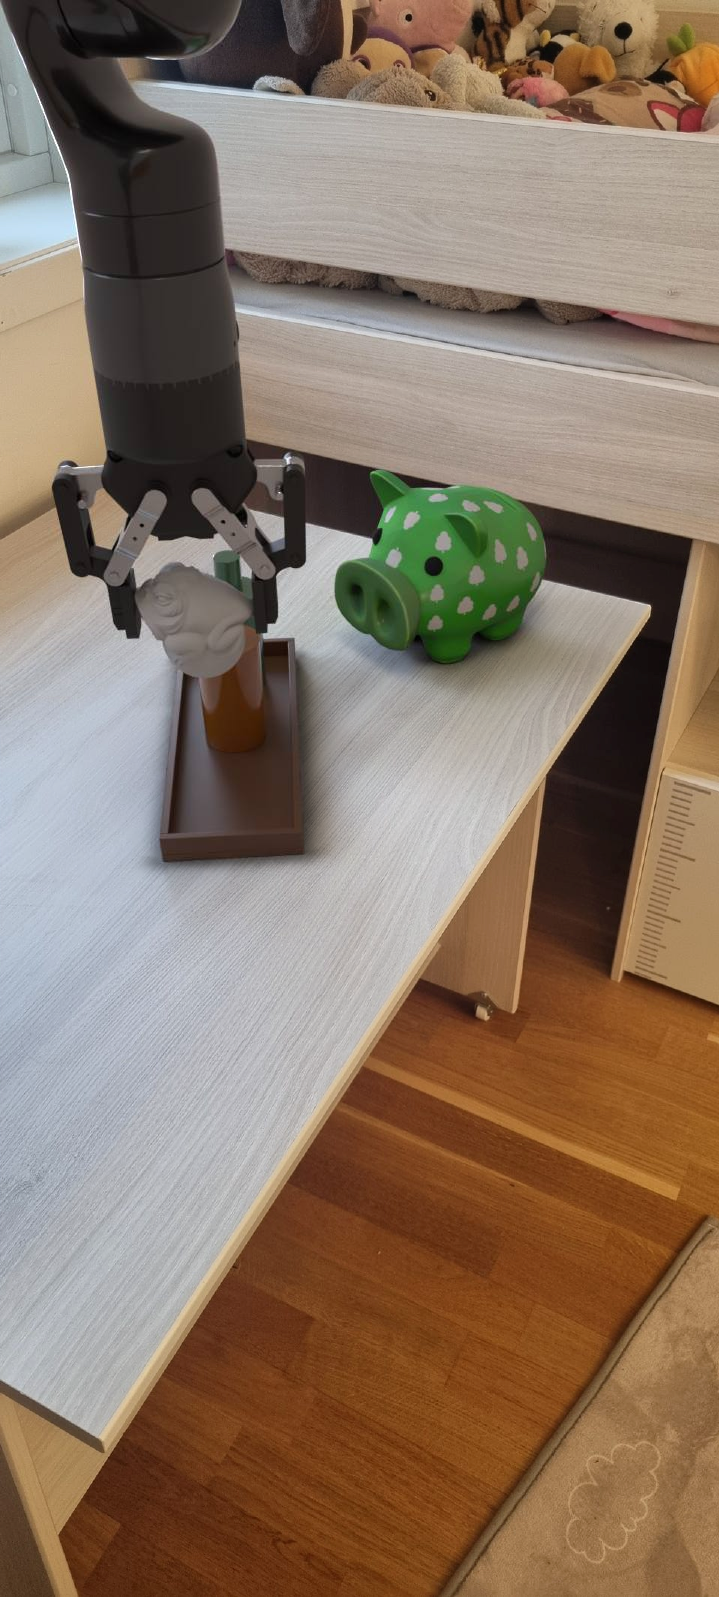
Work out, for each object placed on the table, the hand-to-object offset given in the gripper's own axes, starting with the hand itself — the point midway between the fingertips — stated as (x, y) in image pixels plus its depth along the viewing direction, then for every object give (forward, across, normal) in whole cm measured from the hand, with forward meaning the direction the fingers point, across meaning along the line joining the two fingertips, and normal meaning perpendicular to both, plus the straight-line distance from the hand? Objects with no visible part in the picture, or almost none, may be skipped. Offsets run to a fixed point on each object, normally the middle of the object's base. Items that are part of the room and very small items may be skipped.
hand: (198, 629), depth 72 cm
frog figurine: (+3, 0, 0) cm, 3 cm away
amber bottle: (+20, 0, +17) cm, 26 cm away
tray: (+21, 0, +16) cm, 26 cm away
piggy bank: (+21, +19, +32) cm, 43 cm away
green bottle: (+20, 0, +25) cm, 32 cm away
